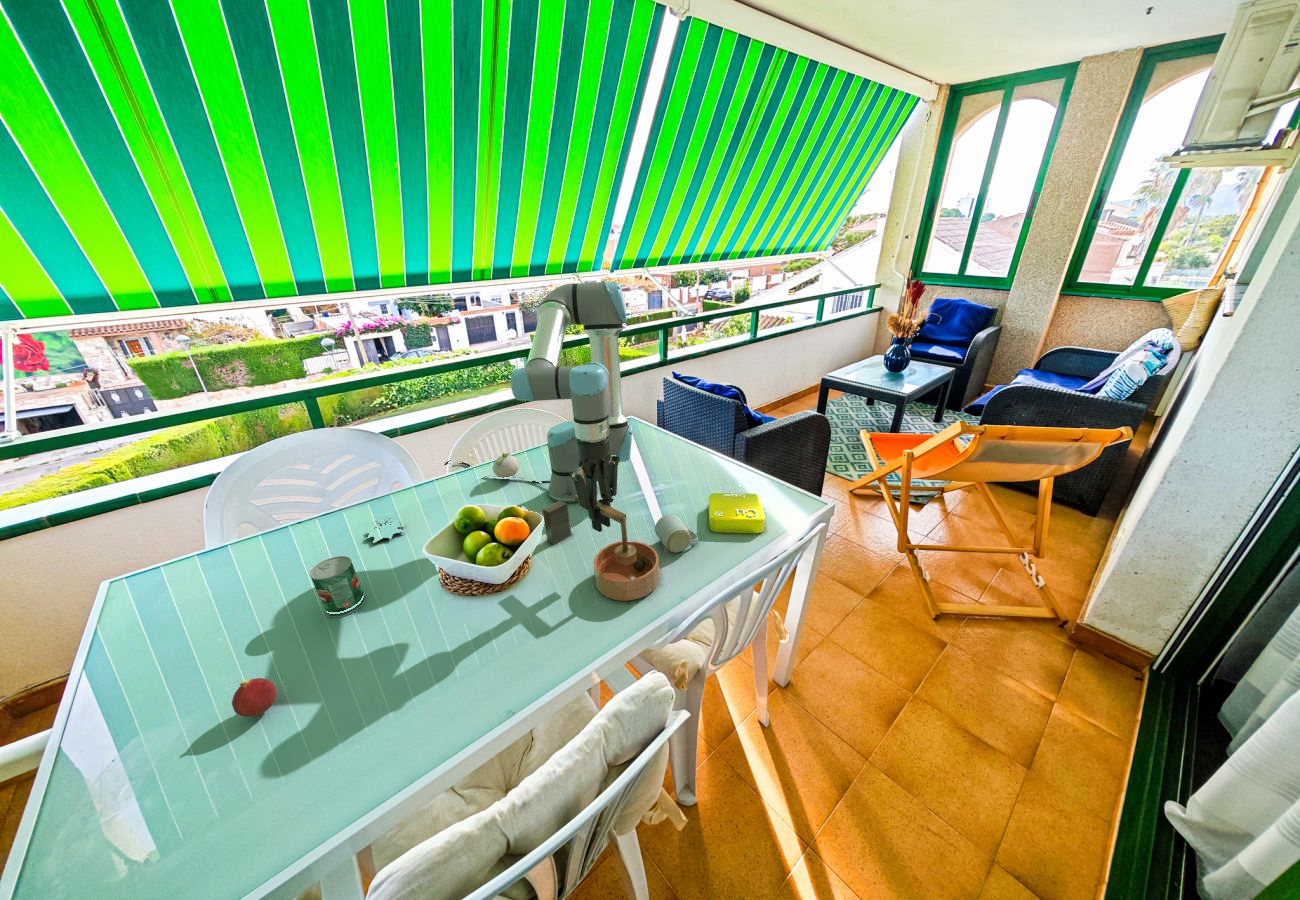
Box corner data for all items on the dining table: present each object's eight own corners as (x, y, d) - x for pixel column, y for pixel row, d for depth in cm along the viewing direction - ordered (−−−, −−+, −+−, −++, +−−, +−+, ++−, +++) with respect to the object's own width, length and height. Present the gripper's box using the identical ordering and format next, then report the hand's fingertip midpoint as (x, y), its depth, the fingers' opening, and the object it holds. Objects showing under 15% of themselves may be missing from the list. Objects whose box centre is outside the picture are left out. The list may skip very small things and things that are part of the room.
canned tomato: (373, 597, 108) (359, 559, 103) (343, 621, 101) (327, 581, 97) (348, 590, 110) (334, 553, 106) (317, 613, 104) (300, 574, 99)
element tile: (758, 505, 139) (759, 491, 137) (764, 534, 125) (765, 519, 123) (708, 504, 140) (708, 491, 138) (709, 532, 127) (709, 518, 125)
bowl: (582, 582, 110) (580, 562, 108) (627, 552, 120) (626, 533, 118) (627, 612, 100) (625, 591, 98) (672, 577, 110) (671, 557, 108)
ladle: (574, 538, 116) (569, 497, 111) (589, 529, 119) (585, 490, 114) (625, 568, 104) (622, 524, 99) (641, 557, 107) (638, 515, 103)
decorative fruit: (516, 485, 157) (511, 459, 152) (492, 486, 157) (487, 459, 153) (523, 472, 165) (519, 447, 161) (501, 473, 165) (496, 448, 161)
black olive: (630, 569, 113) (630, 559, 111) (639, 563, 115) (638, 554, 113) (639, 575, 111) (639, 565, 110) (648, 568, 113) (647, 559, 112)
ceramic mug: (667, 558, 117) (667, 532, 114) (654, 540, 124) (654, 516, 121) (703, 547, 121) (704, 522, 118) (689, 531, 128) (689, 507, 125)
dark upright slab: (547, 540, 126) (542, 508, 122) (564, 531, 130) (560, 499, 126) (553, 545, 124) (548, 512, 120) (571, 535, 128) (567, 503, 124)
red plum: (257, 698, 84) (239, 667, 81) (290, 695, 85) (273, 664, 81) (234, 729, 79) (214, 697, 76) (269, 725, 79) (250, 693, 76)
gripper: (576, 452, 93) (587, 547, 103) (629, 430, 103) (634, 519, 113) (554, 443, 98) (566, 535, 108) (606, 423, 108) (613, 509, 118)
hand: (601, 526), depth 110 cm, fingers closed on ladle, 2 cm apart
